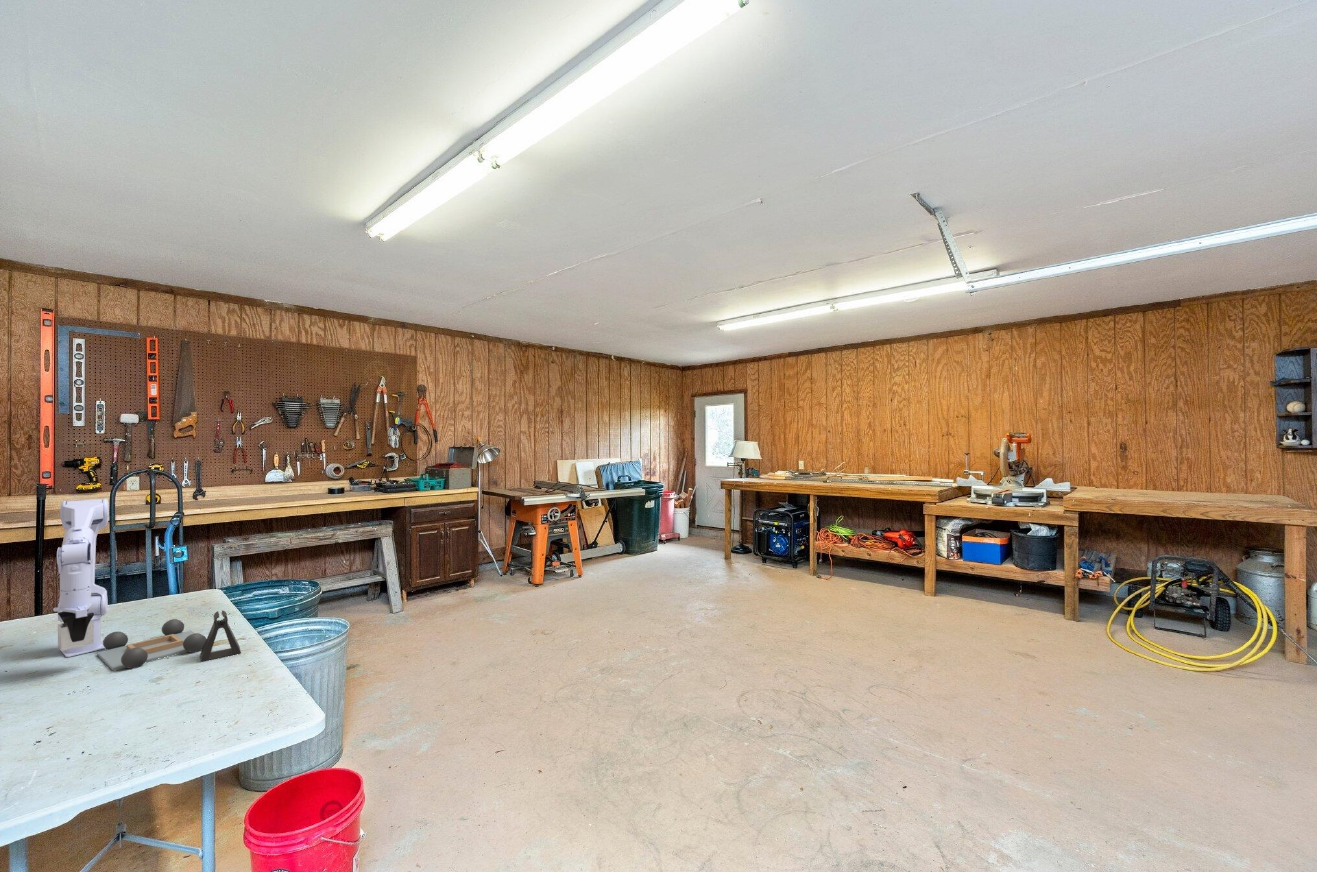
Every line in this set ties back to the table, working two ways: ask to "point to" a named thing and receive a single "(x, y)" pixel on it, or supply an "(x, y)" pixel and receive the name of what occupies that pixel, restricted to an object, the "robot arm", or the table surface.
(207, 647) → the phone stand
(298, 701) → the table surface
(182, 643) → the chassis board
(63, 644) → the block
